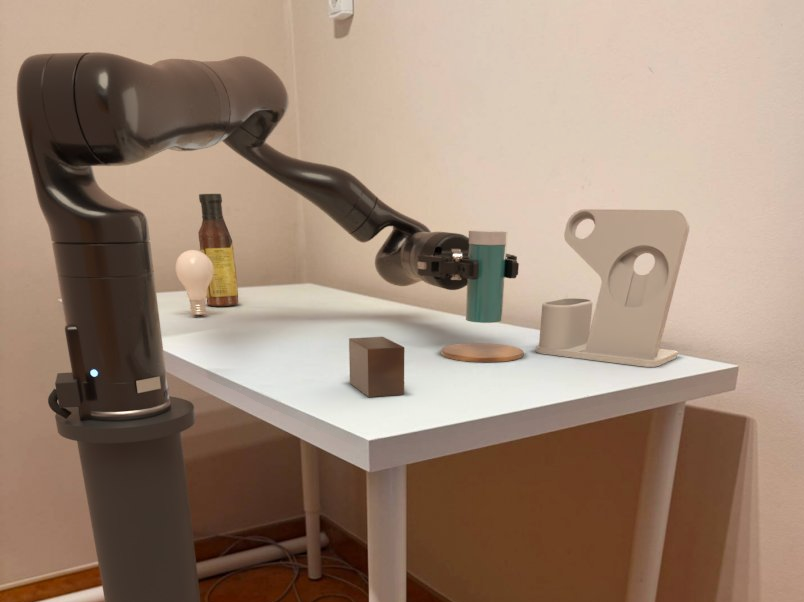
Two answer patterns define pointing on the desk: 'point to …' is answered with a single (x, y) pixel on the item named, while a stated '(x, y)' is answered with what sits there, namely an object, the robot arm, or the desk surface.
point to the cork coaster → (482, 352)
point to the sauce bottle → (218, 252)
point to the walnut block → (376, 366)
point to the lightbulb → (195, 278)
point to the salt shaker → (486, 276)
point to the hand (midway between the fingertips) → (495, 270)
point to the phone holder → (619, 289)
